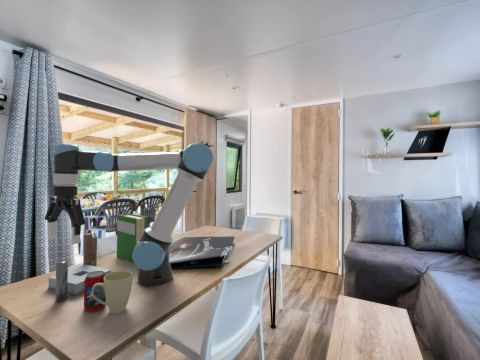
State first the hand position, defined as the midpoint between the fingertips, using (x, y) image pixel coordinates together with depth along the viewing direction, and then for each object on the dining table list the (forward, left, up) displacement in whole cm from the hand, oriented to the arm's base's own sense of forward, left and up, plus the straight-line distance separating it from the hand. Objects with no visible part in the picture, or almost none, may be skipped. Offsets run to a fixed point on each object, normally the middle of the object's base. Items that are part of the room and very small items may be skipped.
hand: (63, 241), depth 92 cm
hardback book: (+11, -45, -22) cm, 51 cm away
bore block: (+5, -11, -21) cm, 24 cm away
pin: (-1, +1, -21) cm, 21 cm away
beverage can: (-17, 0, -22) cm, 28 cm away
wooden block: (+18, -25, -22) cm, 37 cm away
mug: (-25, -1, -22) cm, 33 cm away
